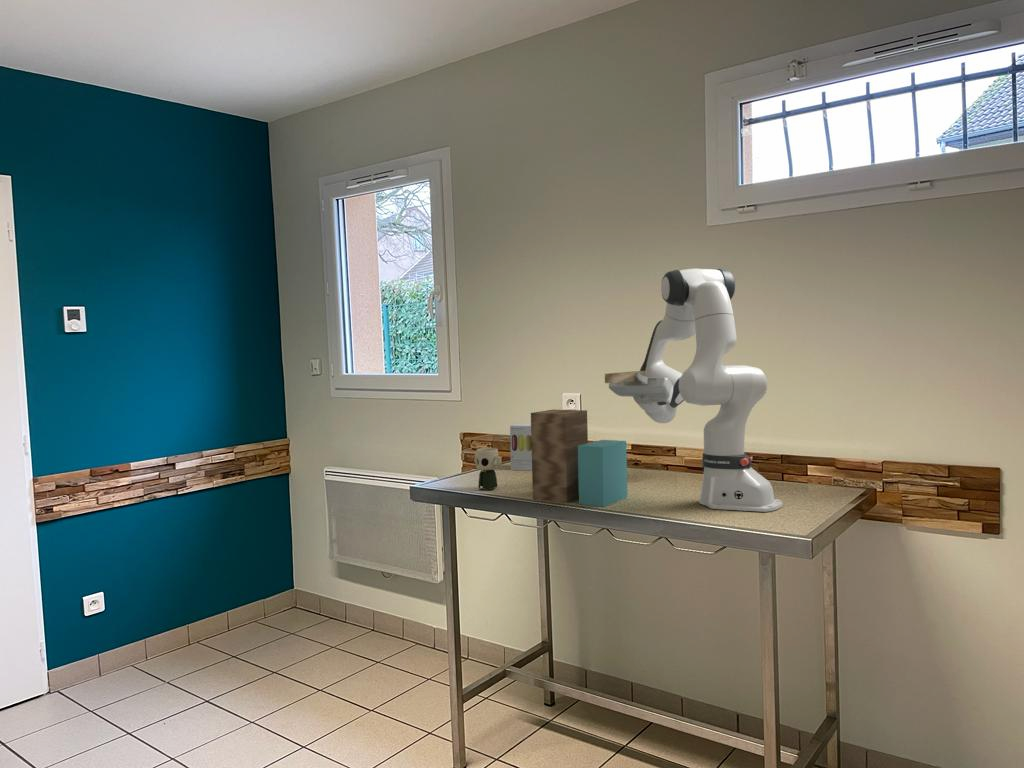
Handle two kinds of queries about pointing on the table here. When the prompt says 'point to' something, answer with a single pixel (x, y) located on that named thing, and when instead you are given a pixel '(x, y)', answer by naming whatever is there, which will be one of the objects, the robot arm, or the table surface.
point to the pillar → (557, 453)
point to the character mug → (487, 467)
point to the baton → (622, 376)
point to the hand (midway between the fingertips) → (630, 374)
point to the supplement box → (520, 446)
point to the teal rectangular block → (602, 472)
